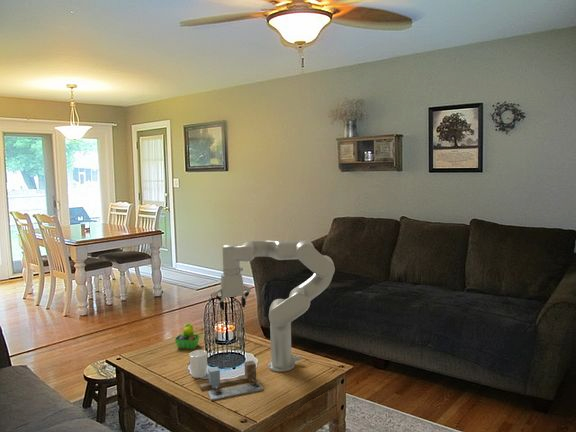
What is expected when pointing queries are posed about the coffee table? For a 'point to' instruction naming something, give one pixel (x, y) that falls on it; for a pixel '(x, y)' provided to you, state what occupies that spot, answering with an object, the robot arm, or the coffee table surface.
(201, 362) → the white cup
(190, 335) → the fruit basket
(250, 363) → the beam
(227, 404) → the coffee table surface
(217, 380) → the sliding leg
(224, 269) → the robot arm
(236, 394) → the bolt plate
